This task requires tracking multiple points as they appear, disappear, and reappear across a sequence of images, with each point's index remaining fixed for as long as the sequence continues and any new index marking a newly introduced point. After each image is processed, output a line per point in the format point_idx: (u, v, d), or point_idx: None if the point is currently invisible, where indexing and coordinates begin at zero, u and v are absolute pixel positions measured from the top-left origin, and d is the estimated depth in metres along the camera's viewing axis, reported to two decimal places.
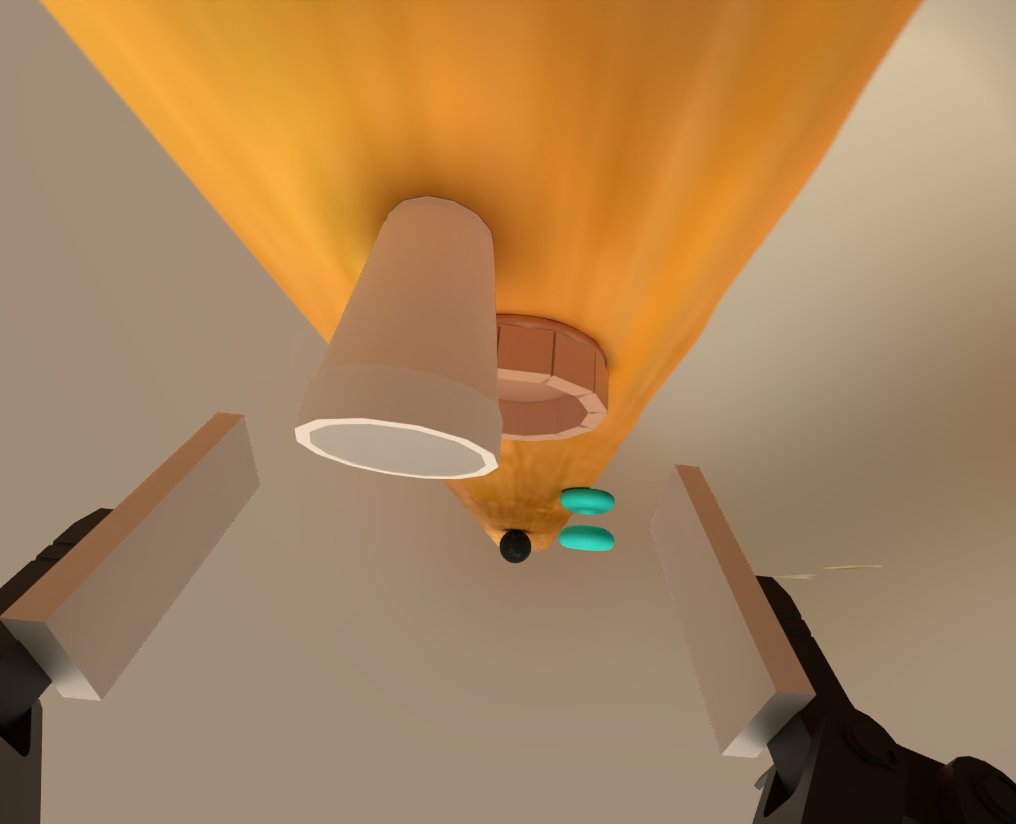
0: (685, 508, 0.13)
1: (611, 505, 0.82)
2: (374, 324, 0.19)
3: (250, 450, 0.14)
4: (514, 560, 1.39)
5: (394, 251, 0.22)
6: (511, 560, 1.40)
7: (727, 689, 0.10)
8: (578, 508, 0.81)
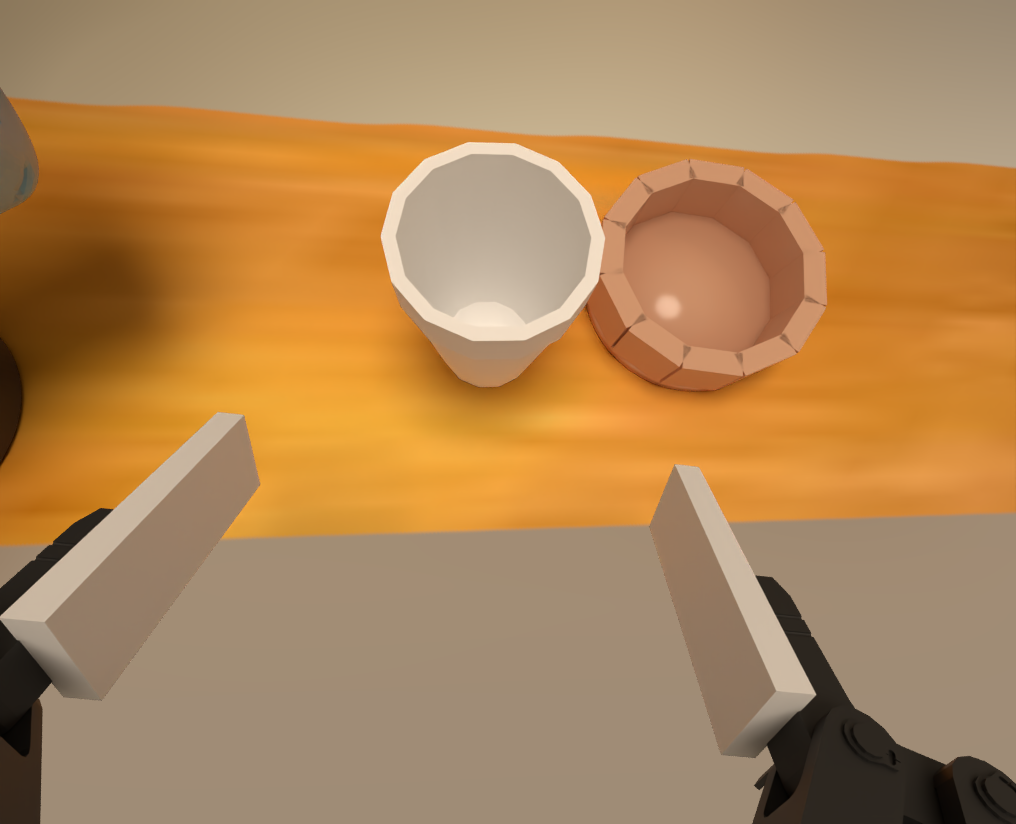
0: (685, 508, 0.13)
1: None
2: None
3: (250, 450, 0.14)
4: None
5: None
6: None
7: (727, 689, 0.10)
8: None
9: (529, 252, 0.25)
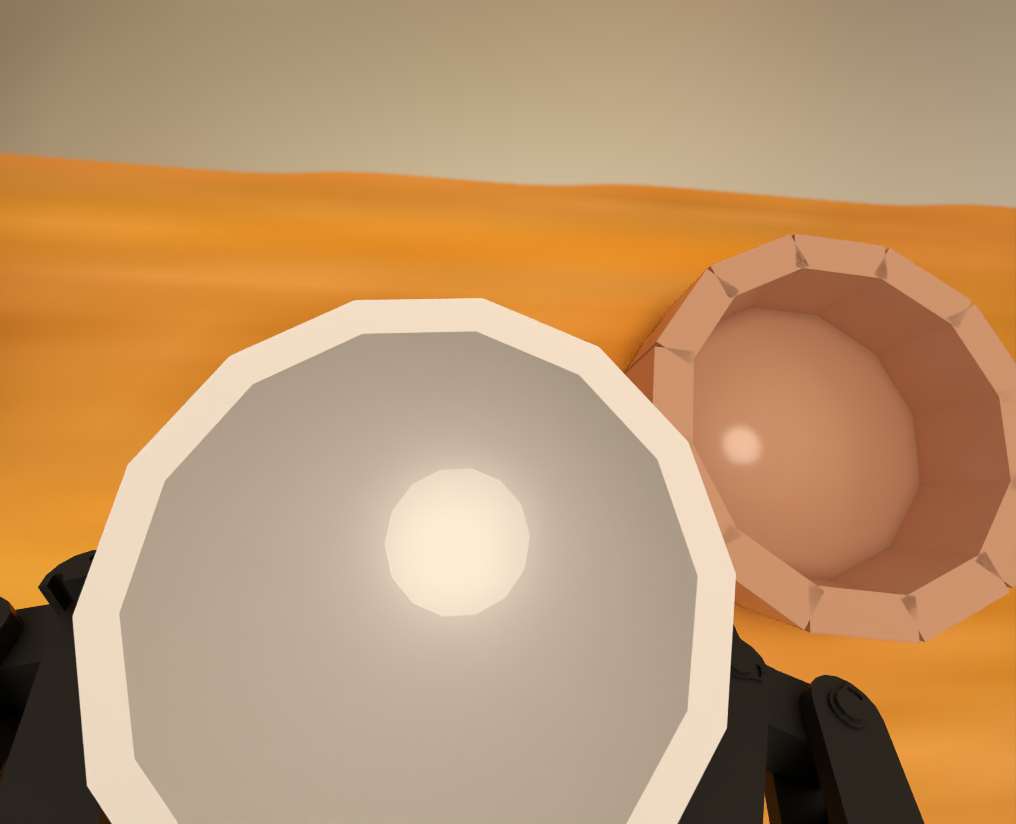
0: None
1: None
2: None
3: None
4: None
5: None
6: None
7: None
8: None
9: (525, 450, 0.13)
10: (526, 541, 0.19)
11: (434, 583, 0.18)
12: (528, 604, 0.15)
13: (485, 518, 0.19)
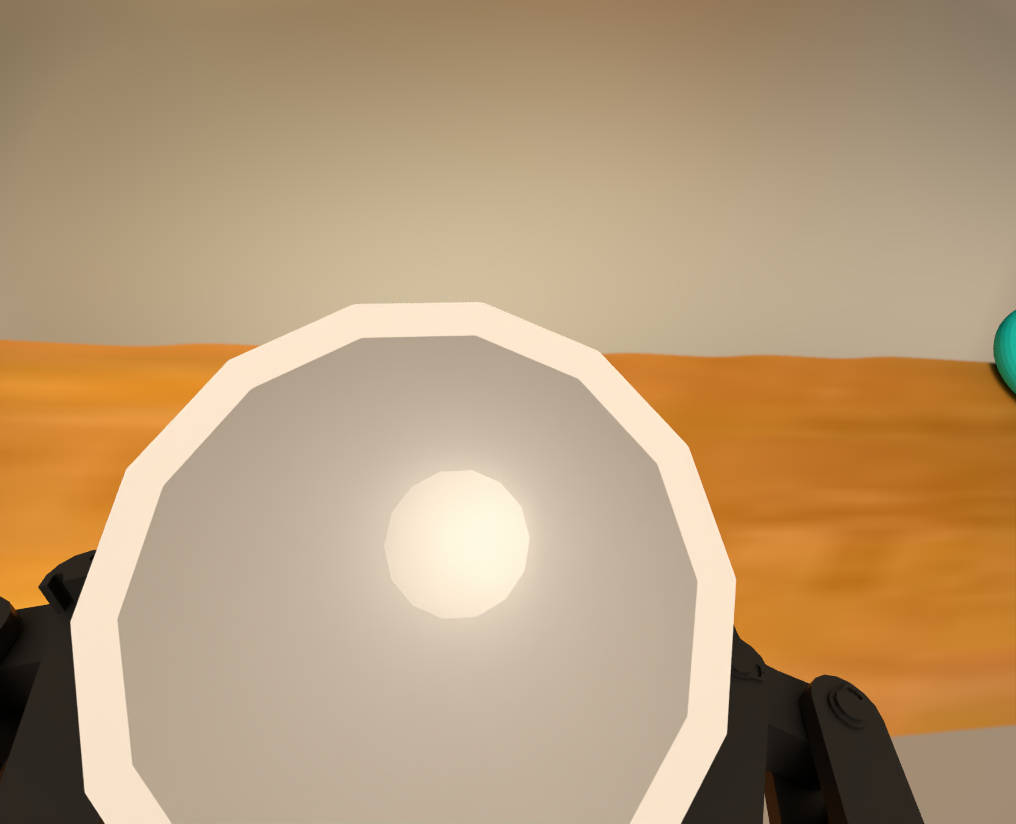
0: None
1: None
2: None
3: None
4: None
5: None
6: None
7: None
8: None
9: (525, 452, 0.13)
10: (526, 543, 0.19)
11: (434, 585, 0.18)
12: (528, 606, 0.15)
13: (485, 520, 0.19)
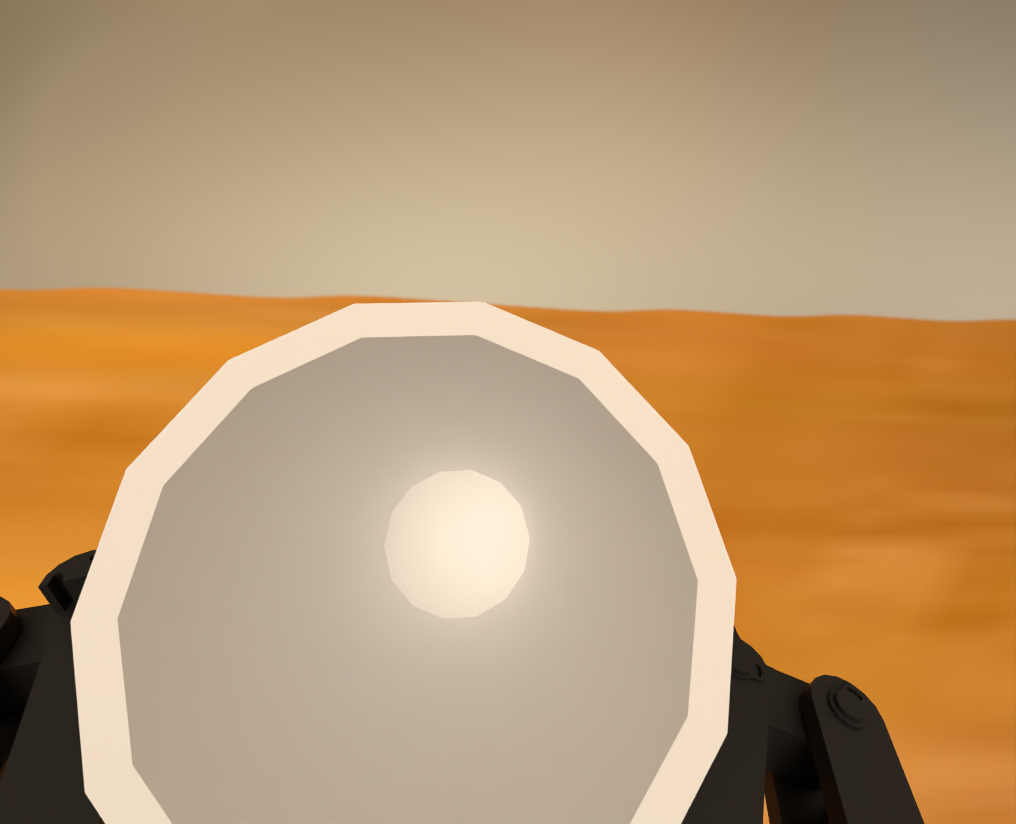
0: None
1: None
2: None
3: None
4: None
5: None
6: None
7: None
8: None
9: (525, 452, 0.13)
10: (526, 543, 0.19)
11: (434, 585, 0.18)
12: (528, 606, 0.15)
13: (485, 520, 0.19)
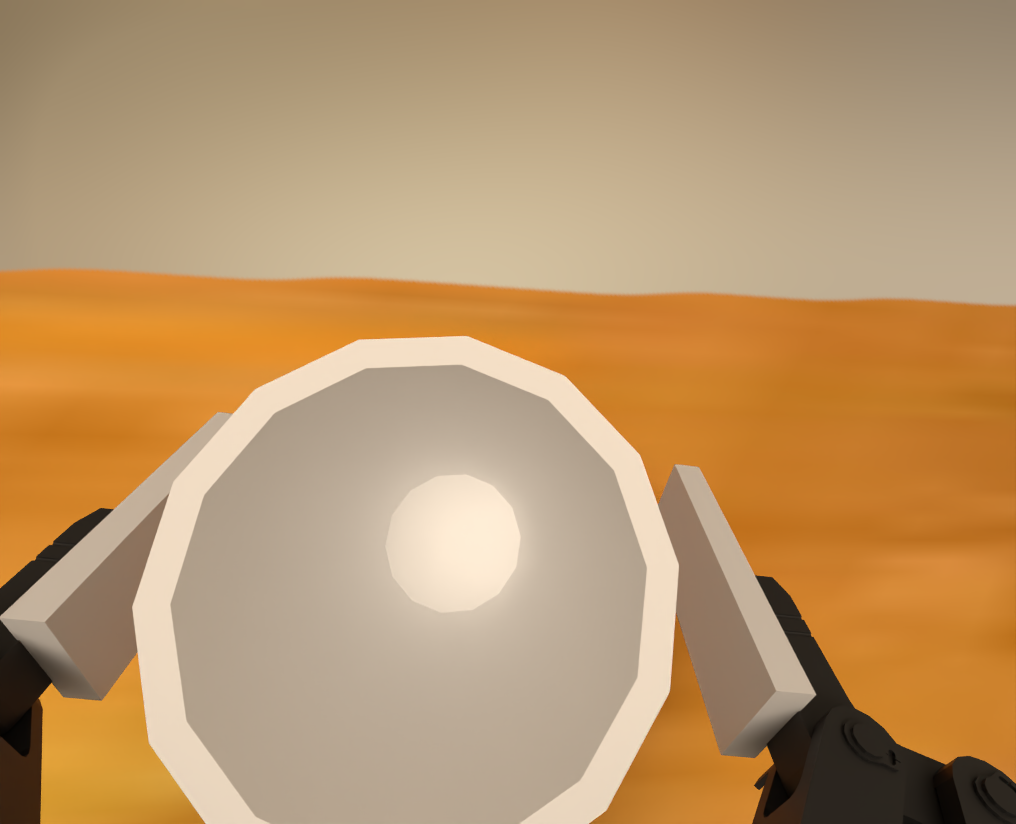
0: (685, 508, 0.13)
1: None
2: None
3: None
4: None
5: None
6: None
7: (727, 689, 0.10)
8: None
9: (512, 459, 0.14)
10: (517, 541, 0.20)
11: (431, 581, 0.20)
12: (518, 599, 0.17)
13: (479, 520, 0.20)
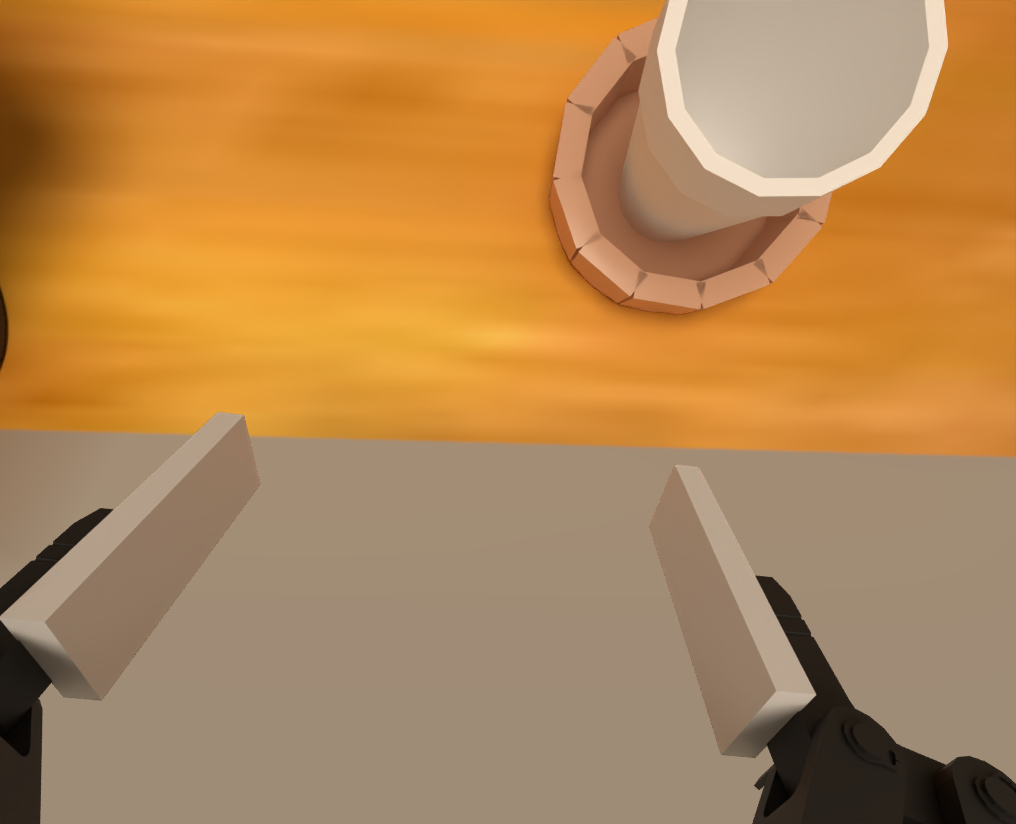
0: (685, 508, 0.13)
1: None
2: (639, 138, 0.20)
3: (250, 451, 0.14)
4: None
5: (627, 180, 0.24)
6: None
7: (727, 689, 0.10)
8: None
9: (778, 65, 0.20)
10: None
11: None
12: None
13: None
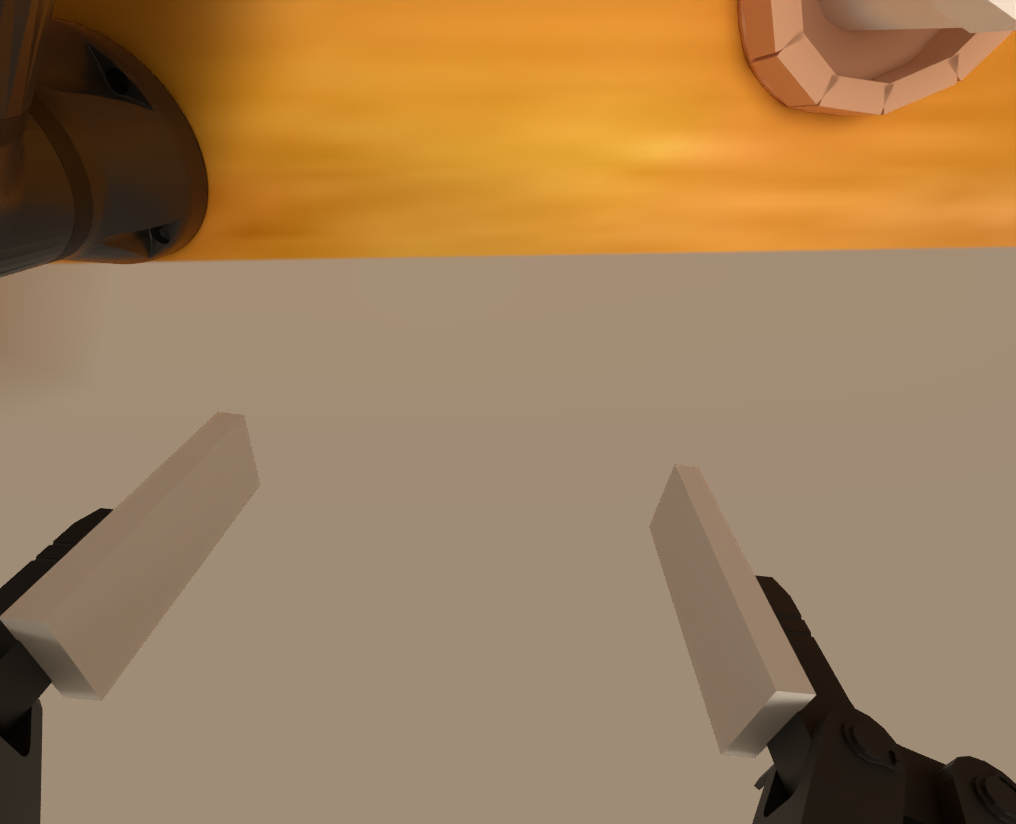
0: (685, 508, 0.13)
1: None
2: None
3: (250, 450, 0.14)
4: None
5: None
6: None
7: (727, 689, 0.10)
8: None
9: None
10: None
11: None
12: None
13: None
